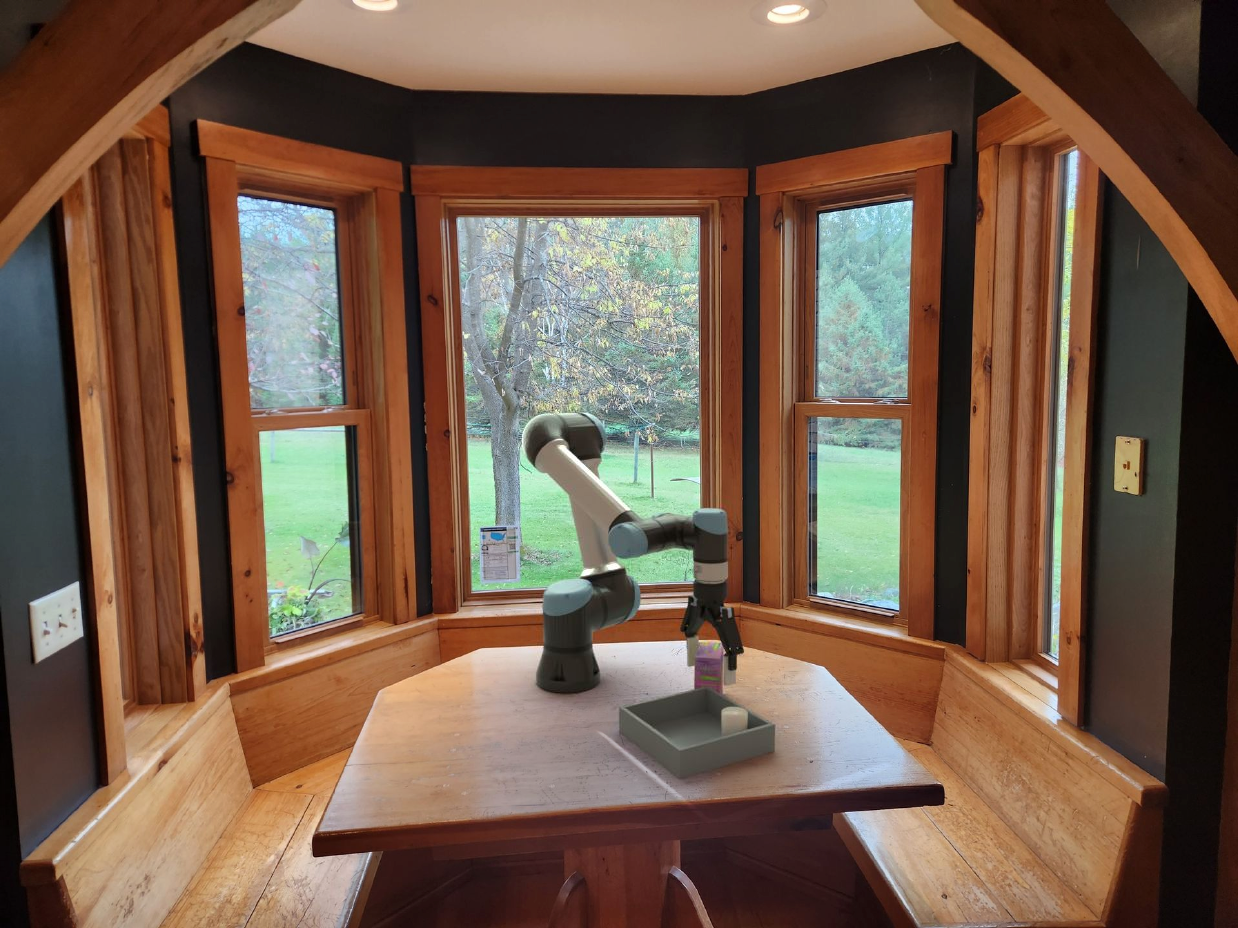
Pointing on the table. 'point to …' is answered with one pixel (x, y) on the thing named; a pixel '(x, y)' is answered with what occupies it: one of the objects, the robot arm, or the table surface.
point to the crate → (693, 732)
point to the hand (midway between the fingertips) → (710, 674)
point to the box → (709, 666)
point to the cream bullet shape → (733, 720)
